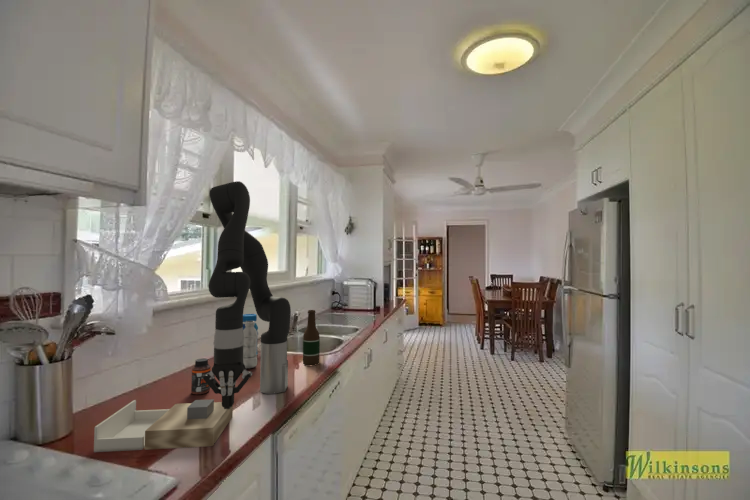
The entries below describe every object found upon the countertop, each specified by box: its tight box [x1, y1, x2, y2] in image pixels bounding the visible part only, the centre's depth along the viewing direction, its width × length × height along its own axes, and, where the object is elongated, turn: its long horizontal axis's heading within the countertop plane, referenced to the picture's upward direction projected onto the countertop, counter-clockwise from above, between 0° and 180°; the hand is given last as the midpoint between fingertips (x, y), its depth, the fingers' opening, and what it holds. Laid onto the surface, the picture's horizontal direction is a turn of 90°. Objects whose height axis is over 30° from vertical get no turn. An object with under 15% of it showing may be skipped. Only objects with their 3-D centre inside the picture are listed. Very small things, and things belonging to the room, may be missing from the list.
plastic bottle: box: [243, 321, 258, 370], centre depth 148 cm, size 6×7×20 cm
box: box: [93, 399, 170, 453], centre depth 91 cm, size 11×16×6 cm
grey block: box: [187, 398, 215, 419], centre depth 93 cm, size 5×5×3 cm
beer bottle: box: [302, 309, 321, 366], centre depth 154 cm, size 8×8×24 cm
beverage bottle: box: [243, 313, 259, 357], centre depth 166 cm, size 8×8×20 cm
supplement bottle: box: [190, 357, 212, 396], centre depth 120 cm, size 6×6×11 cm
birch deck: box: [144, 401, 234, 450], centre depth 93 cm, size 16×16×4 cm
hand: (227, 407), depth 94 cm, fingers closed
